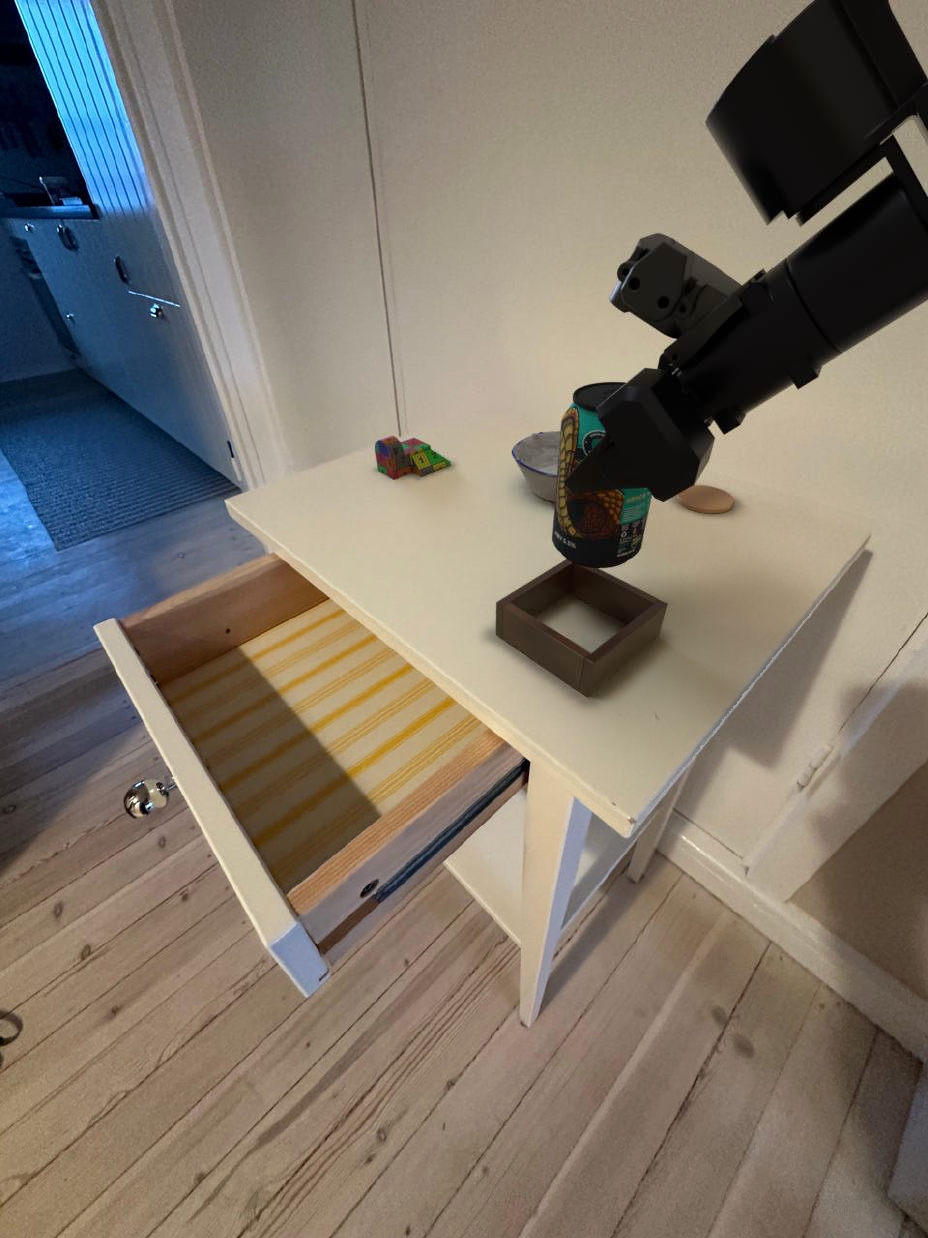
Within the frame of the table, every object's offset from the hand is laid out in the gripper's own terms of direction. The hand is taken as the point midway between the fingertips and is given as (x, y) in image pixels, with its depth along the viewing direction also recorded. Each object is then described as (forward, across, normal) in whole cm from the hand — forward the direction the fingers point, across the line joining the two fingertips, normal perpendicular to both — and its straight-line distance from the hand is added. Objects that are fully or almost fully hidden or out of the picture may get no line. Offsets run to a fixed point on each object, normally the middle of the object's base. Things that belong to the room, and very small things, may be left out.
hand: (588, 467), depth 39 cm
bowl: (+16, -20, +2) cm, 26 cm away
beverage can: (+4, 0, +6) cm, 7 cm away
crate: (+8, +4, +10) cm, 14 cm away
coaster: (+5, -25, +13) cm, 29 cm away
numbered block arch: (+30, -16, -12) cm, 36 cm away
